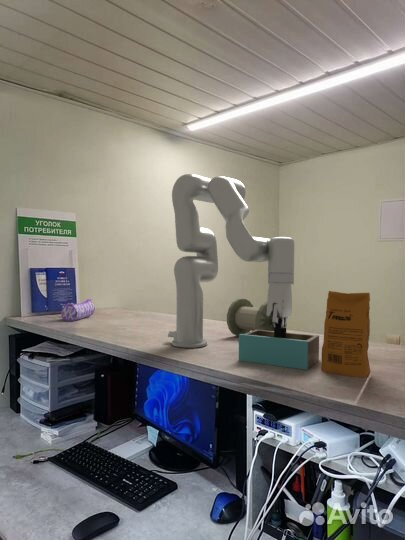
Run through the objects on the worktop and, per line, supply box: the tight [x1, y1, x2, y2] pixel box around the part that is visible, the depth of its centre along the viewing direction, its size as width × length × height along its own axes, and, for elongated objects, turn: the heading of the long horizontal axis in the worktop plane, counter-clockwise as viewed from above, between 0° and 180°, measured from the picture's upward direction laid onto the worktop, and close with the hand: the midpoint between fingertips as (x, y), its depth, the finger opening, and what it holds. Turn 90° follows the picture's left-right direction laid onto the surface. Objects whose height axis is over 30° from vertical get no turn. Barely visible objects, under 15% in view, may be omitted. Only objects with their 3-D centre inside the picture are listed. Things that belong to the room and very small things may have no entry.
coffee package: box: [321, 290, 371, 378], centre depth 107 cm, size 10×12×22 cm
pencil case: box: [60, 298, 96, 322], centre depth 208 cm, size 22×9×10 cm, turn 171°
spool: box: [226, 298, 274, 337], centre depth 158 cm, size 16×15×15 cm
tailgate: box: [238, 334, 309, 371], centre depth 113 cm, size 20×1×8 cm, turn 61°
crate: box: [245, 330, 320, 370], centre depth 119 cm, size 20×12×8 cm, turn 61°
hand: (280, 340), depth 119 cm, fingers closed
